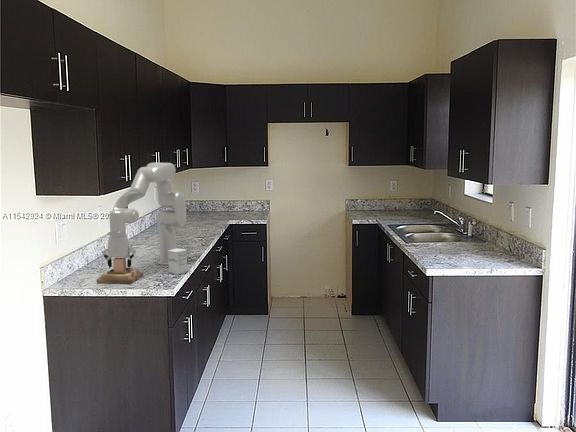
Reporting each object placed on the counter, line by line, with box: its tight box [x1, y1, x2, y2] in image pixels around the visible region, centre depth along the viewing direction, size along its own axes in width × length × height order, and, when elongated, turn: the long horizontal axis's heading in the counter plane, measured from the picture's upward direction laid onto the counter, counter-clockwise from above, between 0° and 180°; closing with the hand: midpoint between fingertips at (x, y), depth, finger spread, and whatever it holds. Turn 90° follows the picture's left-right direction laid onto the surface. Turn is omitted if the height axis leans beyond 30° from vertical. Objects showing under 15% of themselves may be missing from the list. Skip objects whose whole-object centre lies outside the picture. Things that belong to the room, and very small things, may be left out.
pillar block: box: [112, 257, 127, 272], centre depth 273 cm, size 5×5×7 cm
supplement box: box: [168, 247, 188, 275], centre depth 288 cm, size 7×7×13 cm
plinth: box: [96, 267, 144, 285], centre depth 274 cm, size 16×18×5 cm
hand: (119, 267), depth 273 cm, fingers open, 9 cm apart
